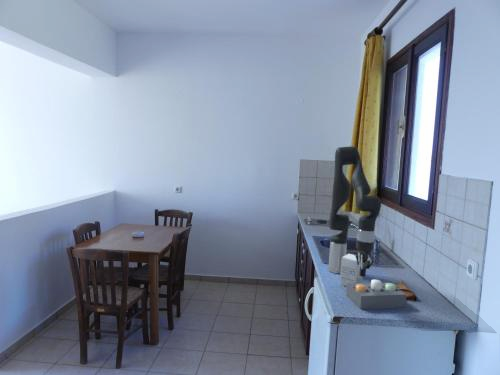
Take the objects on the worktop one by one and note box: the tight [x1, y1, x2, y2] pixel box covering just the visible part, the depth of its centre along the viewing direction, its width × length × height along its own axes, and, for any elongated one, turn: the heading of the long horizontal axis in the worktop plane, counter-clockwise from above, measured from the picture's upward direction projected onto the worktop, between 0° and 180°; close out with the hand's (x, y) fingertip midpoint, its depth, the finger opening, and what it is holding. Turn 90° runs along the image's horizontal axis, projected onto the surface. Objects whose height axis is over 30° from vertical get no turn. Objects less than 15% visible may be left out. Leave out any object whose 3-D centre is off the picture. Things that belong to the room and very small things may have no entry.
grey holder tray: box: [345, 282, 407, 310], centre depth 162 cm, size 14×22×6 cm, turn 100°
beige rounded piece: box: [356, 284, 366, 292], centre depth 160 cm, size 5×5×6 cm
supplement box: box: [339, 253, 364, 288], centre depth 181 cm, size 9×9×15 cm
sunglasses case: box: [394, 280, 418, 302], centre depth 174 cm, size 18×7×7 cm
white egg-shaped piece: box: [370, 279, 383, 291], centre depth 162 cm, size 5×5×6 cm
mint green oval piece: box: [385, 282, 396, 291], centre depth 163 cm, size 5×5×6 cm
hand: (362, 276), depth 160 cm, fingers closed
